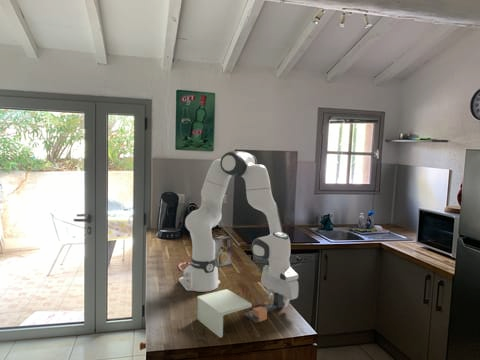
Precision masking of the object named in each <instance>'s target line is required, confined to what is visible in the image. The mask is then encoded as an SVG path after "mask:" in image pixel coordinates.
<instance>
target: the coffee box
mask: <svg viewBox="0 0 480 360" xmlns="http://www.w3.org/2000/svg"><path fill="white" fill-rule="evenodd" d="M212 237H213V240H214V241H215V258H216V267H217V268H219V267H224V266H228V265H231V264H232V237H231V236H228V235H220V236H212Z"/></svg>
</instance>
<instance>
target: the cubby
mask: <svg viewBox="0 0 480 360" xmlns="http://www.w3.org/2000/svg"><path fill="white" fill-rule="evenodd" d="M252 305H253V304H252V303H251V302H249V301H248V300H246V299H244V298H243V297H242V296H239V295H237V294H236V293H235V292H233V291H231V290H229V289H227V288H225V289H222V290H218V291H217V290H216V291H214V292H209V293H206V294H202V295H198V296H197V297H196V320H198V321H199V323H201V324H202V325H204V327H207V329H209V331H211V332H212V333H214V334H215V335H216V336H217V337H218V338H220V339H221V338H223V336H224V316H226V315H229V314H232V313H235V312H239V311H242V310H245V309H248V308H251V307H252Z"/></svg>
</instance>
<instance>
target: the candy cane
mask: <svg viewBox="0 0 480 360" xmlns="http://www.w3.org/2000/svg"><path fill="white" fill-rule="evenodd" d="M190 263H191V262H185V261H184V262H181V263H179V264H178V265H177V269H179V270H180V271H181V272H182V273H184V270H185V269H183V268H182V267H181V266H182V265H188V266H189V265H190Z"/></svg>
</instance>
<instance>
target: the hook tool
mask: <svg viewBox="0 0 480 360" xmlns="http://www.w3.org/2000/svg"><path fill="white" fill-rule="evenodd" d="M273 294H274V298H272V299H273V302H272V303H271V304H268V305H266V306H262V307H263V308H265V309H267V313H268V312H272V311H274V310H280V309H283V308H284V306H283V302H284V298H285V296H283V295H281V294H279V293H277V292H274V293H273ZM244 315H245V317H246V318H248V319H249V320H251V321H252V322H254V323H256V324H257V323H259V318H258V317H256V316H255V315H253V309H252V310H249V311H246V312H245V314H244Z"/></svg>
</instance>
